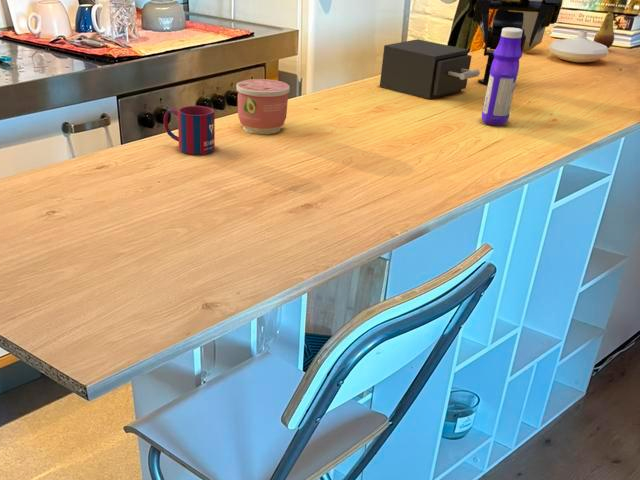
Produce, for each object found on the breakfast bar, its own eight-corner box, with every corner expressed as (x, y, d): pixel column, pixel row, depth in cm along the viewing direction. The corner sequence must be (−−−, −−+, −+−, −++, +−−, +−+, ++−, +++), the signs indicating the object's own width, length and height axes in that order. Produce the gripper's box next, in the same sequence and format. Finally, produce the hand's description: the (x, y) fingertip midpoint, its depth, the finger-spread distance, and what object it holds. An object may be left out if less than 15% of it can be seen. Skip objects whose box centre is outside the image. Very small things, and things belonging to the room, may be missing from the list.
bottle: (508, 128, 170) (528, 33, 159) (480, 125, 171) (498, 31, 160) (506, 119, 176) (526, 26, 164) (480, 116, 176) (497, 24, 165)
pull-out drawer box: (482, 92, 189) (489, 59, 185) (453, 100, 183) (459, 65, 179) (420, 77, 199) (424, 45, 195) (390, 84, 193) (394, 51, 189)
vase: (538, 60, 224) (545, 31, 219) (557, 51, 234) (564, 23, 229) (595, 69, 217) (603, 39, 212) (612, 60, 227) (620, 31, 222)
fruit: (614, 50, 238) (627, 2, 230) (605, 52, 235) (619, 4, 227) (596, 47, 241) (609, -1, 233) (587, 49, 238) (600, 1, 230)
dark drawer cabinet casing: (461, 91, 194) (468, 49, 188) (429, 99, 187) (435, 56, 181) (412, 79, 202) (417, 39, 196) (379, 86, 195) (384, 45, 189)
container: (228, 123, 166) (228, 80, 161) (275, 119, 170) (277, 77, 164) (247, 137, 159) (248, 93, 154) (295, 133, 162) (298, 89, 157)
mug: (202, 157, 149) (201, 117, 144) (157, 147, 153) (155, 108, 148) (221, 148, 153) (221, 109, 149) (177, 139, 157) (176, 101, 153)
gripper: (479, -59, 165) (467, 13, 164) (574, -53, 162) (562, 20, 161) (473, -18, 176) (461, 49, 175) (561, -12, 173) (550, 56, 172)
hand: (507, 43), depth 171 cm, fingers open, 9 cm apart
